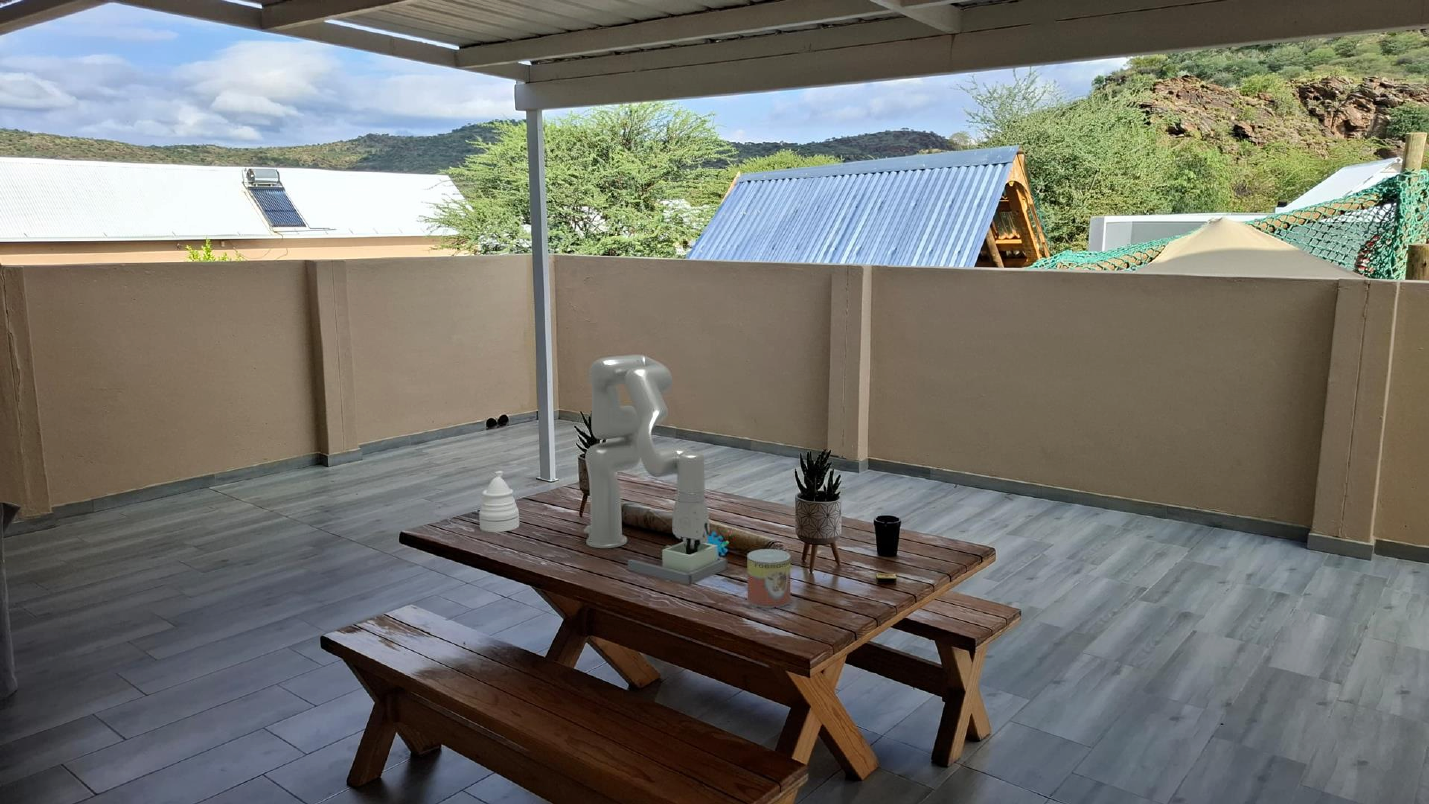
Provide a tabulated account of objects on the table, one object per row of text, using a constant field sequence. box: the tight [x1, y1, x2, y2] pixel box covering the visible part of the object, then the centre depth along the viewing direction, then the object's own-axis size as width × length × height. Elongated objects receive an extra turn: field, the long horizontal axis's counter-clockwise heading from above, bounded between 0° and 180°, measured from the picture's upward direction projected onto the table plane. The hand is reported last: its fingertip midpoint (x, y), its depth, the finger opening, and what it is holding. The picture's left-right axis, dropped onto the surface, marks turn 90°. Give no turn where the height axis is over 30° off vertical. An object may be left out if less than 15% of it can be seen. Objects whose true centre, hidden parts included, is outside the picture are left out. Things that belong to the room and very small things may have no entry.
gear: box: [707, 530, 730, 557], centre depth 291 cm, size 11×6×10 cm
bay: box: [627, 544, 729, 586], centre depth 276 cm, size 22×17×4 cm
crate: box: [661, 542, 717, 573], centre depth 273 cm, size 10×12×7 cm
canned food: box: [746, 548, 792, 609], centre depth 254 cm, size 11×11×12 cm
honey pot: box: [478, 470, 520, 533], centre depth 323 cm, size 13×13×18 cm
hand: (691, 560), depth 273 cm, fingers closed
